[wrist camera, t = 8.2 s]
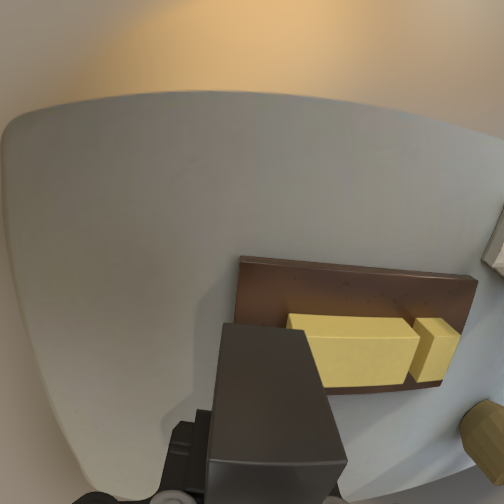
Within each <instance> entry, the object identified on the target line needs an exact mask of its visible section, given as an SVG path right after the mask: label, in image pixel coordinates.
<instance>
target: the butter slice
mask: <svg viewBox="0 0 504 504" xmlns="http://www.w3.org/2000/svg"><path fill="white" fill-rule="evenodd" d="M412 329H413V330H414V331H415V332H416V333H417V334H418V335H419V336H420V340H419V343H418V346H417V349H416V351H415V354H414V357H413V360H412V362H411V365H410V367H409V370H408V371H409V372H410V374H411V375H412V376H413V378H414V379H415V381H416V382H417V383H418V382H427V381H435V380H443V378H444V376H445V374H446V371H447V369H448V367H449V364H450V362H451V360H452V357H453V355H454V352H455V350H456V347H457V345H458V342H459V339H460V337H461V335H460V334H459V333H458V332H456V331H455V330H454V329H453V328H452V327H451V326H450V325H449V324H447V323H446V322H445V321H444V320H443V319H442V318H416V319H415V322H414V325H413V328H412Z"/></svg>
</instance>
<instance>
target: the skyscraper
mask: <svg viewBox="0 0 504 504" xmlns="http://www.w3.org/2000/svg"><path fill="white" fill-rule="evenodd" d="M481 259H482V260H483V261H484V262H485V263H486V264H488V265H489V266H490V267H491V268H492V269H493V270H495V271H496V272H497V273H498V274H499V275H500V276H502V277H503V278H504V208H503V211H502V213H501V216H500V218H499V221H498V223H497V225H496V228H495V230H494V232H493V235H492V237H491V239H490V241H489V243H488V246H487V248H486V250H485V252H484V254H483V256H482V258H481Z"/></svg>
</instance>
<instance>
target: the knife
mask: <svg viewBox="0 0 504 504" xmlns="http://www.w3.org/2000/svg"><path fill="white" fill-rule="evenodd" d="M347 462H348V460H347V456H346V453H345V450H344V447H343V444H342V441H341V438H340V435H339V432H338V429H337V426H336V423H335V420H334V416H333V413H332V410H331V407H330V404H329V401H328V398H327V395H326V392H325V389H324V386H323V384H322V381H321V378H320V375H319V372H318V369H317V366H316V363H315V360H314V357H313V354H312V351H311V348H310V345H309V343H308V340H307V337H306V334H305V331H304V330H301V329H287V328H275V327H264V326H253V325H243V324H233V323H224V324H223V327H222V334H221V342H220V350H219V358H218V365H217V373H216V382H215V390H214V398H213V406H212V415H211V423H210V432H209V441H208V450H207V459H206V478H205V501H204V504H323V503H324V502H325V500H326V499H327V497H328V496H329V494H330V492H331V491H332V489H333V487H334V486H335V484H336V482H337V481H338V479H339V477H340V475H341V474H342V472H343V470H344V468H345V467H346V465H347Z"/></svg>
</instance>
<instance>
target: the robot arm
mask: <svg viewBox="0 0 504 504" xmlns="http://www.w3.org/2000/svg"><path fill="white" fill-rule="evenodd" d="M211 415H212V411H208V410H200V409H197V412H196V417H195V423H193V422H186V421H180V422H179V424H178V425H177V426H176V427H175V428H174V429H173V431H172V435H171V439H170V444H169V447H168V453H167V456H166V460H165V465H164V469H163V473H162V478H161V482H160V486H159V489H158V490H157V492H156V493H155V494H154V495H152V496H151V497H149V498H147V499H145V500H140V501H117V499H115V498H114V497H113V496H111V495H109V494H107V493H104V492H90V493H87V494H85V495H83V496H82V497H80V498H79V499H78V500H76V501H75V502H74V503H72V504H204V501H205V478H206V459H207V450H208V441H209V432H210V423H211ZM323 504H349V503H348V502H347V501H345V500H344V499H343V498H342V497H341V495H340V492H339V488H338V484H337V482H336V484H335V486H334V487H333V489H332V491H331V492H330V494H329V496H328V497H327V499H326V500H325V502H324V503H323Z"/></svg>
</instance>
